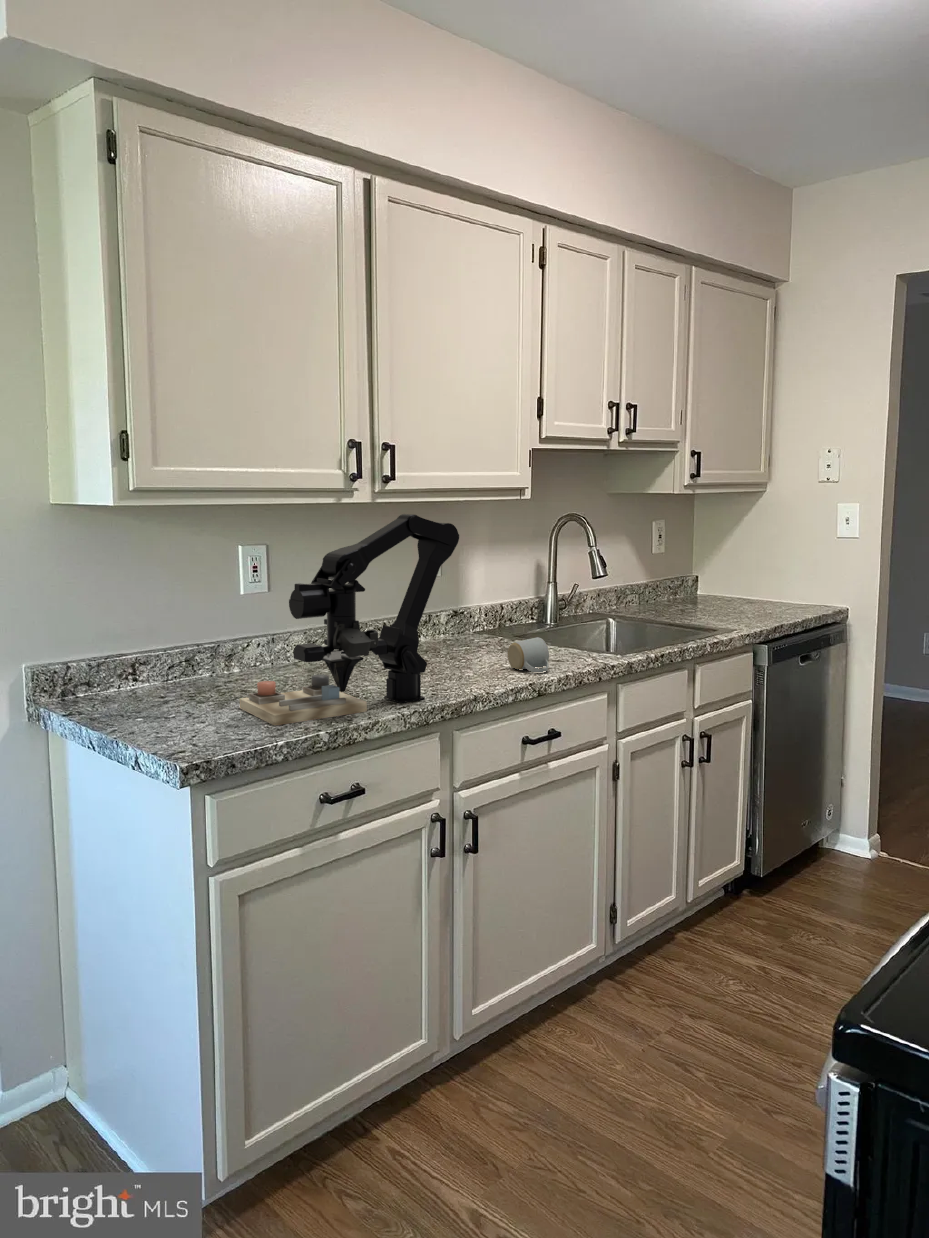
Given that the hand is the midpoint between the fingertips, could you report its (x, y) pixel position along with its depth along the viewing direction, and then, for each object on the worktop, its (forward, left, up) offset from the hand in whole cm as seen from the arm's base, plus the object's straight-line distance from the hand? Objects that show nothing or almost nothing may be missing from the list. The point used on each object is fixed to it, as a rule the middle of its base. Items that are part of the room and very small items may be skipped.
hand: (341, 691), depth 195 cm
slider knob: (+3, 0, -1) cm, 3 cm away
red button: (+13, -9, 0) cm, 15 cm away
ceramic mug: (-58, -11, -4) cm, 59 cm away
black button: (+1, -8, 0) cm, 9 cm away
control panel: (+7, -5, -4) cm, 9 cm away
